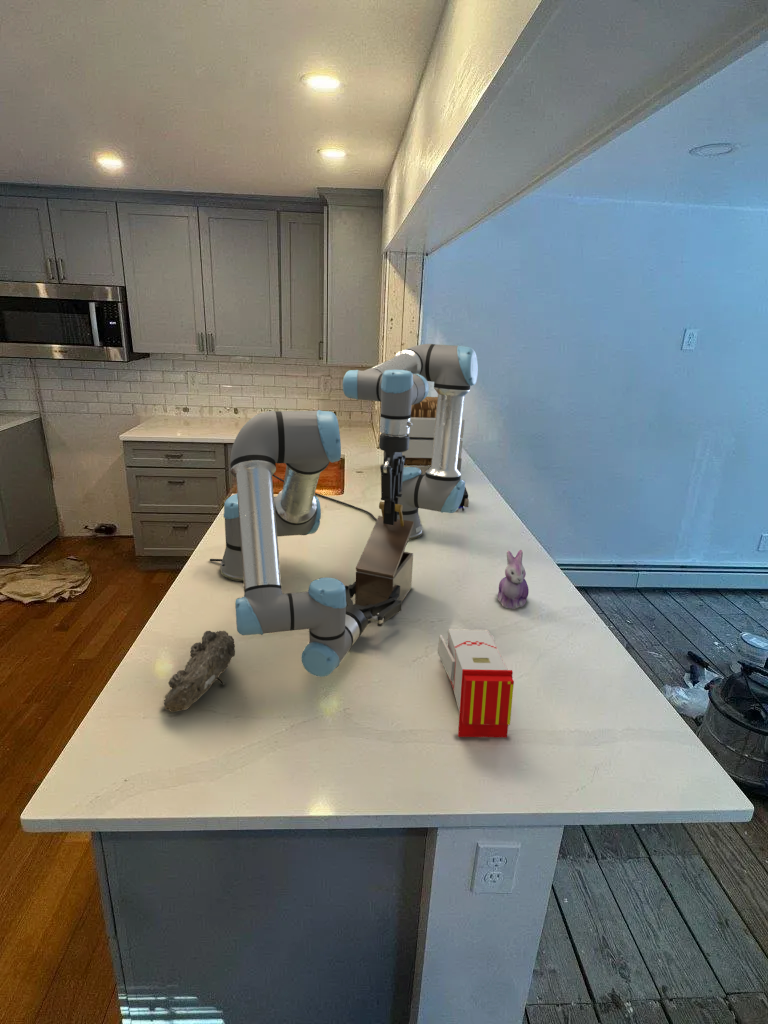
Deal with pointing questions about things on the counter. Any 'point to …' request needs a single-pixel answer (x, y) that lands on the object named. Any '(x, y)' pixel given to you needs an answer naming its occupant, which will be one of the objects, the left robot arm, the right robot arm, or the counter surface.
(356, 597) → the chest
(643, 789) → the counter surface
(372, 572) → the lid
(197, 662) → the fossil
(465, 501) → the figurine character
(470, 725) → the toy
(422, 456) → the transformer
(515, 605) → the figurine
